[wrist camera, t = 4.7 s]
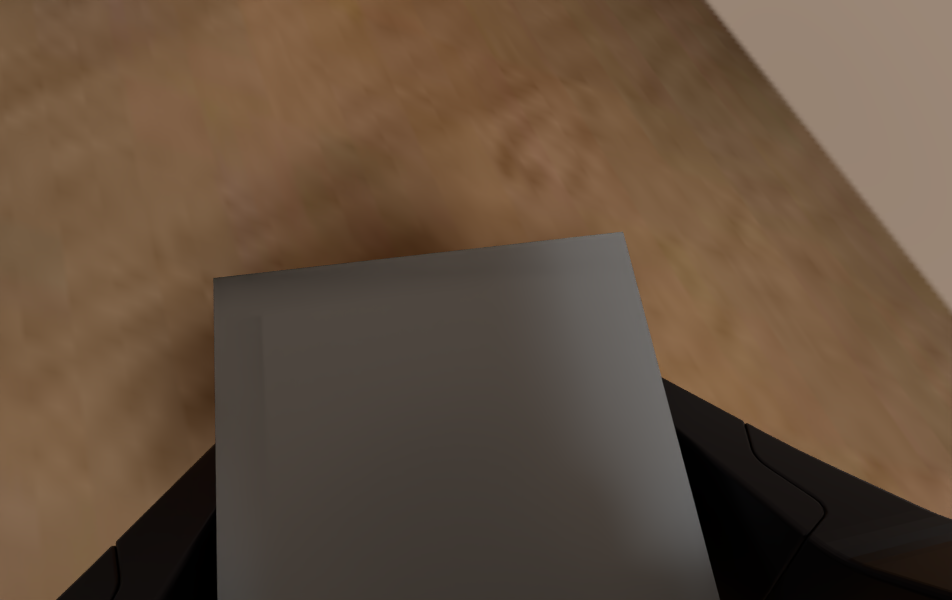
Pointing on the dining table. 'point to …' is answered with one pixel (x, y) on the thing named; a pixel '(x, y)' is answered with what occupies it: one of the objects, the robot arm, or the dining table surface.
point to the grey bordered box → (449, 432)
